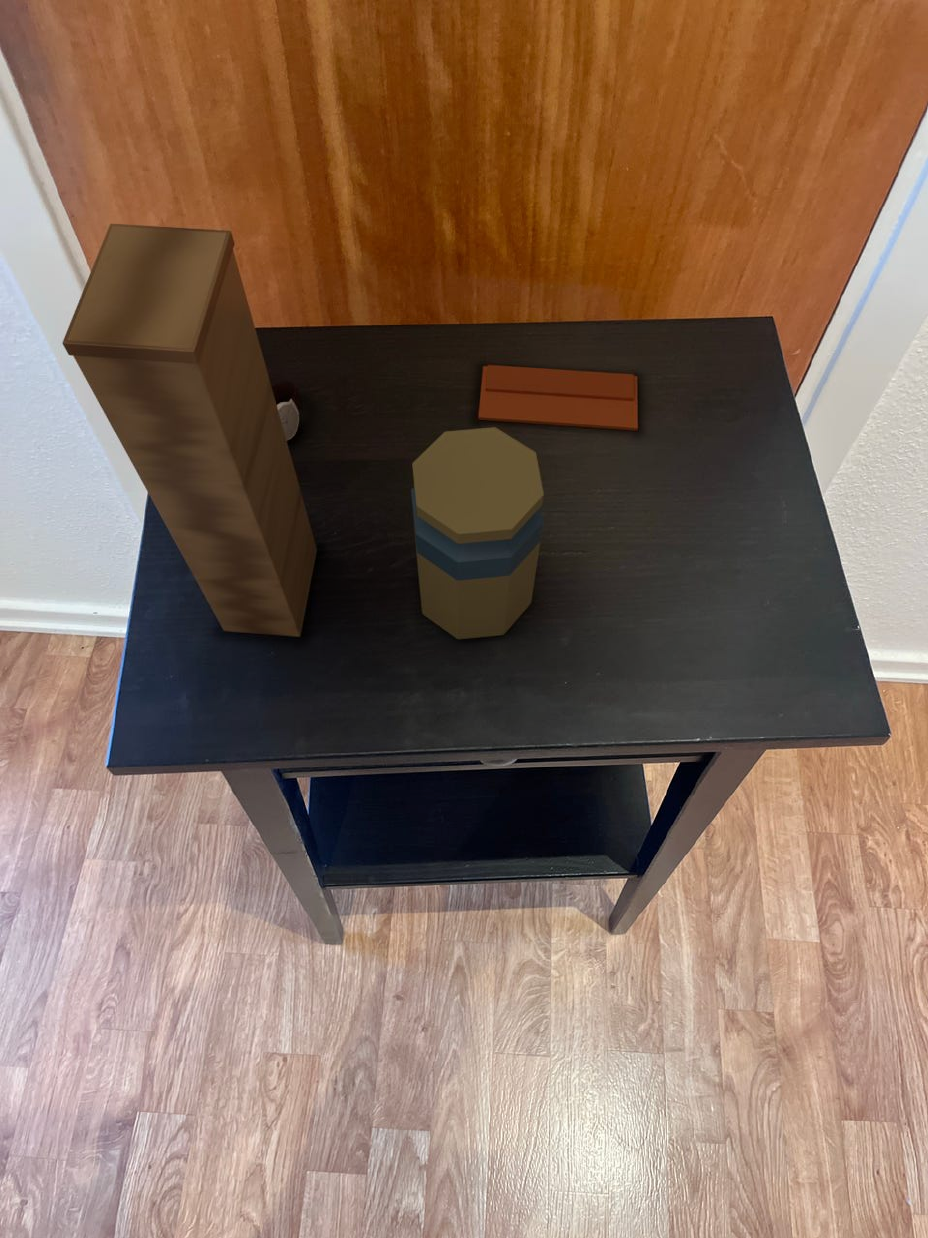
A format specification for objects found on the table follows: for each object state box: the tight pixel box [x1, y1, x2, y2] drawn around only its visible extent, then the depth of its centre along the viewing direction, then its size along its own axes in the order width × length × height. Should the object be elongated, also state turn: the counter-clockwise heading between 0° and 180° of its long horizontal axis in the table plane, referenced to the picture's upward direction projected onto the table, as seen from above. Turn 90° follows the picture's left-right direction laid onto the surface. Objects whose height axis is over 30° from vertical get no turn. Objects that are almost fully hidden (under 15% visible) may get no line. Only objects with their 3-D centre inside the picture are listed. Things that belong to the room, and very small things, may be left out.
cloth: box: [477, 364, 639, 431], centre depth 77 cm, size 14×6×1 cm, turn 85°
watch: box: [271, 380, 303, 442], centre depth 74 cm, size 8×5×4 cm, turn 153°
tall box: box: [62, 223, 318, 638], centre depth 55 cm, size 6×8×30 cm
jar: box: [410, 426, 545, 640], centre depth 61 cm, size 9×9×15 cm
